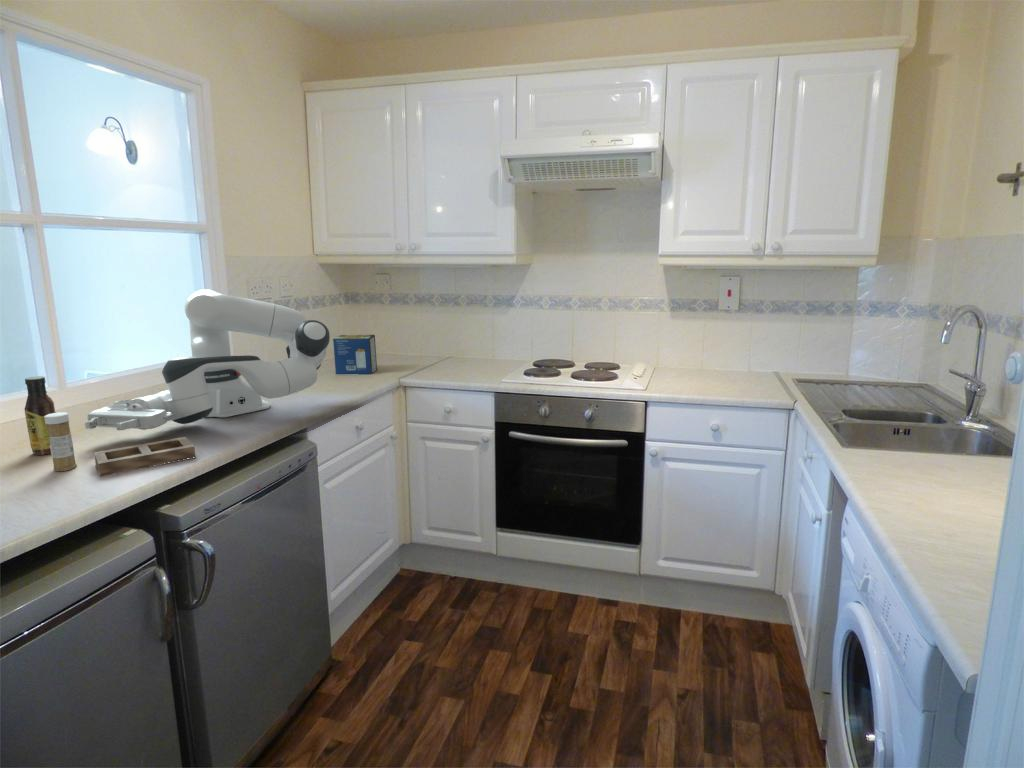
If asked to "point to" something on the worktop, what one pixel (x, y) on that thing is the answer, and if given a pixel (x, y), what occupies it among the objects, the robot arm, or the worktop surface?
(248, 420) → the worktop surface
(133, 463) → the spice caddy
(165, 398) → the robot arm
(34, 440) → the sauce bottle
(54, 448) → the sprinkles bottle
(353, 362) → the protein box
